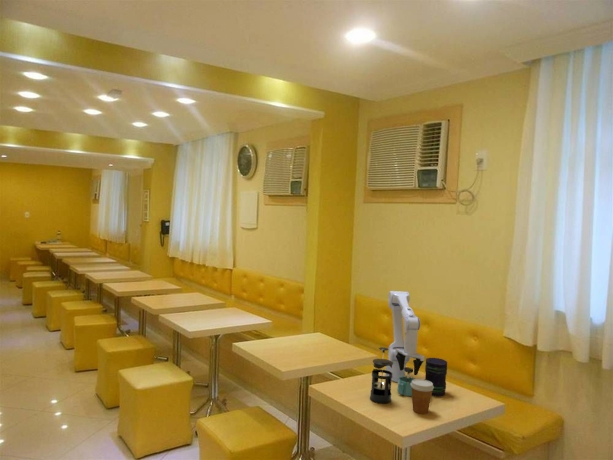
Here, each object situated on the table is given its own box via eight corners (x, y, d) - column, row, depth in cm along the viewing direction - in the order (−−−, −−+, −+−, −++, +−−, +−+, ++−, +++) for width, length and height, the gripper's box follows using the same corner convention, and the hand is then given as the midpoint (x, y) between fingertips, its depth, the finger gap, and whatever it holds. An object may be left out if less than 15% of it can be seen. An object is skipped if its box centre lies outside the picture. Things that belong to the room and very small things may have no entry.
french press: (396, 403, 199) (399, 350, 198) (377, 405, 196) (380, 352, 195) (382, 393, 210) (385, 343, 209) (364, 395, 206) (367, 344, 206)
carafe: (392, 392, 211) (392, 379, 211) (404, 387, 218) (405, 375, 218) (407, 398, 205) (408, 385, 205) (420, 393, 212) (421, 380, 212)
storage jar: (443, 389, 219) (445, 358, 219) (447, 397, 209) (449, 365, 209) (422, 387, 220) (424, 356, 220) (425, 395, 210) (427, 363, 210)
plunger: (397, 385, 212) (399, 368, 212) (405, 382, 217) (406, 365, 217) (409, 389, 208) (410, 371, 208) (417, 386, 212) (418, 369, 212)
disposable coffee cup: (415, 404, 199) (416, 376, 199) (435, 411, 193) (437, 382, 193) (404, 410, 192) (406, 382, 192) (426, 417, 186) (428, 388, 186)
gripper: (392, 340, 214) (390, 369, 215) (419, 348, 204) (417, 378, 204) (401, 338, 219) (399, 366, 220) (427, 346, 209) (425, 375, 209)
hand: (408, 372), depth 212 cm, fingers open, 7 cm apart
